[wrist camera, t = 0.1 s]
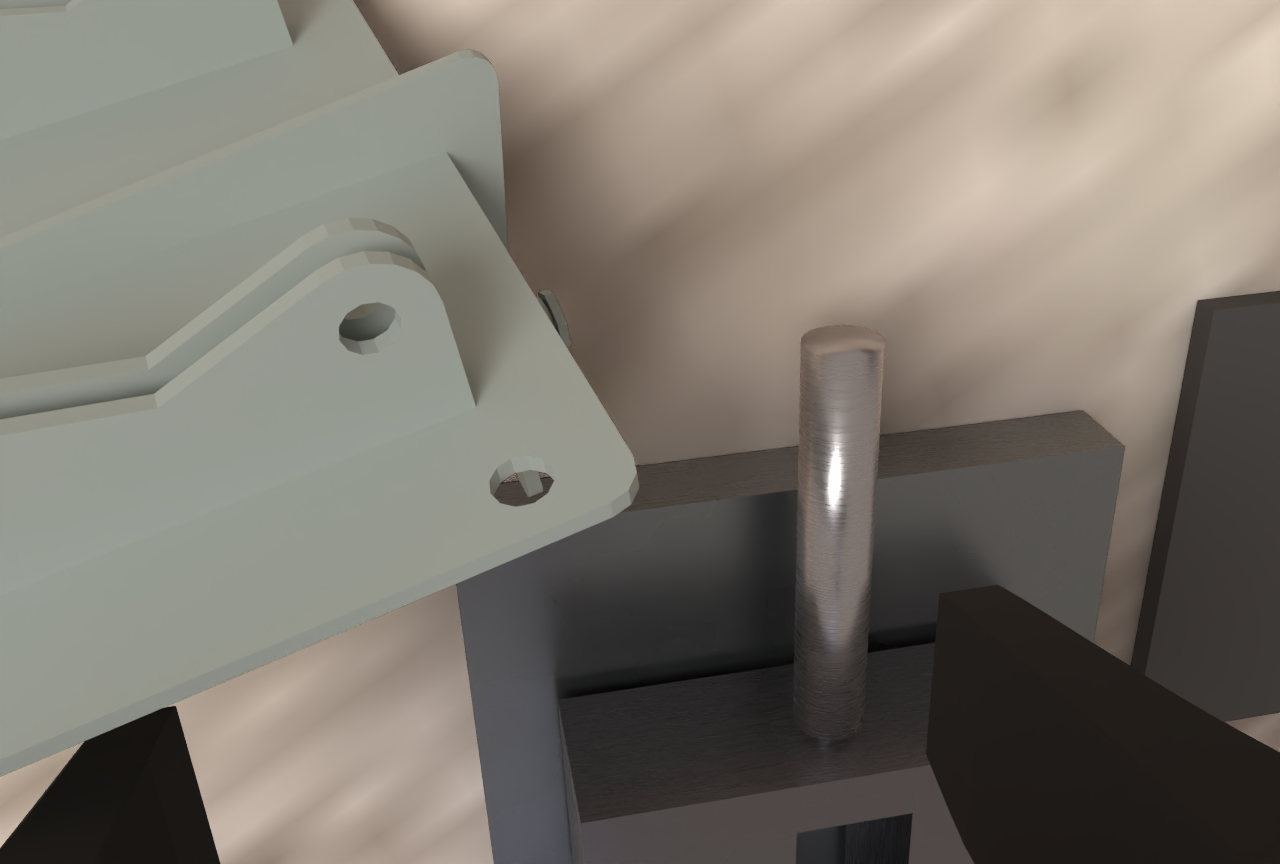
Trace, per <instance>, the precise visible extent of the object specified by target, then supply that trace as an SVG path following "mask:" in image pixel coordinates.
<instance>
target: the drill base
mask: <svg viewBox="0 0 1280 864" xmlns="http://www.w3.org/2000/svg"><path fill="white" fill-rule="evenodd" d="M1124 450H1125V446H1124V445H1123V444H1121V443H1120V442H1119V441H1118V440H1117V439H1116V438H1114V437H1113V436H1112V435H1111V434H1110V433H1109V432H1107V431H1106V430H1105V429H1104V428H1103V427H1102V426H1100V425H1099V424H1098V423H1097V422H1096V421H1095V420H1093V419H1092V418H1091V417H1090V416H1089V415H1088V414H1087V413H1085V412H1084V411H1075V412H1067V413H1059V414H1051V415H1043V416H1035V417H1027V418H1019V419H1011V420H1003V421H995V422H987V423H979V424H971V425H963V426H955V427H947V428H939V429H931V430H923V431H915V432H907V433H899V434H892V435H884V436H879V454H878V471H877V489H876V507H875V525H874V543H873V561H872V579H871V596H870V614H869V632H868V650H867V653H869V652H876V651H883V650H889V649H896V648H902V647H909V646H916V645H922V644H929V643H935V639H936V627H937V616H938V604H939V593H945V592H952V591H959V590H965V589H972V588H979V587H986V586H992V585H999V586H1001V587H1003V588H1005V589H1007V590H1008V591H1010V592H1012V593H1014V594H1015V595H1017V596H1019V597H1020V598H1022V599H1024V600H1025V601H1027V602H1029V603H1030V604H1032V605H1034V606H1035V607H1037V608H1038V609H1040V610H1042V611H1043V612H1045V613H1047V614H1048V615H1050V616H1051V617H1053V618H1054V619H1056V620H1058V621H1059V622H1061V623H1062V624H1064V625H1066V626H1067V627H1069V628H1070V629H1072V630H1073V631H1075V632H1077V633H1078V634H1080V635H1081V636H1083V637H1085V638H1086V639H1088V640H1089V641H1091V642H1092V643H1093V641H1094V635H1095V629H1096V622H1097V616H1098V610H1099V604H1100V598H1101V592H1102V586H1103V579H1104V573H1105V567H1106V561H1107V555H1108V549H1109V542H1110V536H1111V530H1112V524H1113V518H1114V512H1115V506H1116V499H1117V493H1118V487H1119V481H1120V475H1121V469H1122V462H1123V456H1124ZM798 456H799V446H796V447H788V448H780V449H772V450H764V451H756V452H748V453H740V454H732V455H724V456H716V457H708V458H700V459H693V460H685V461H677V462H669V463H661V464H653V465H645V466H637V467H636V471H637V476H638V481H639V489H638V491H637V493H636V496H635V498H634V500H633V502H632V504H631V505H630V506H628V507H627V508H625V509H624V510H622V511H621V512H620V513H618V514H617V515H615V516H614V517H612V518H610V519H607V520H605V521H603V522H600V523H598V524H596V525H593V526H591V527H589V528H586V529H584V530H582V531H579V532H577V533H574V534H572V535H570V536H567V537H565V538H563V539H560V540H558V541H556V542H553V543H551V544H548V545H546V546H544V547H541V548H539V549H537V550H534V551H532V552H530V553H527V554H525V555H523V556H520V557H518V558H515V559H513V560H511V561H508V562H506V563H504V564H501V565H499V566H497V567H494V568H492V569H490V570H487V571H485V572H482V573H480V574H478V575H475V576H473V577H471V578H468V579H466V580H464V581H461V582H459V583H456V586H457V593H458V600H459V608H460V615H461V623H462V630H463V638H464V645H465V652H466V660H467V667H468V675H469V682H470V689H471V697H472V704H473V712H474V719H475V726H476V734H477V741H478V749H479V756H480V763H481V771H482V778H483V786H484V793H485V800H486V808H487V815H488V823H489V830H490V837H491V845H492V852H493V860H494V864H573V857H572V846H571V835H570V825H569V814H568V803H567V793H566V782H565V771H564V760H563V750H562V739H561V728H560V718H559V707H558V700H560V699H566V698H573V697H580V696H586V695H593V694H599V693H606V692H613V691H619V690H626V689H632V688H639V687H645V686H652V685H659V684H665V683H672V682H678V681H685V680H692V679H698V678H705V677H711V676H718V675H725V674H731V673H738V672H744V671H751V670H757V669H764V668H771V667H777V666H784V665H790V664H794V644H795V597H796V550H797V503H798ZM540 480H541V484H542V487H543V492H541V493H538V494H536V495H533V496H531V497H528V496H527V494H526V492H525V490H524V488H523V486H522V484H521V482H520V481H517V482H509V483H501V484H500V485H499V487H498V488H497V490H496V492H495V494H494V498H495V499H497V500H498V501H499V502H500V503H502V504H506V505H510V506H515V507H518V506H523V505H528V504H533V503H535V502H536V501H537V500H539V499H540V498H542V497H543V496H545V495H546V494H547V493H548V492H549V490H550V488H551V486H552V484H553V482H554V480H553V479H552V478H551V477H549V478H541V479H540ZM845 837H846V825H840V826H835V827H829V828H823V829H817V830H811V831H806V832H800V833H797V836H796V864H844V857H845Z"/></svg>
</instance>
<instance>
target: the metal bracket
mask: <svg viewBox="0 0 1280 864" xmlns="http://www.w3.org/2000/svg"><path fill="white" fill-rule="evenodd" d="M538 295H539V297H538V298H536V297H535V295H534V294H533V292H532V290H531V289H530V287H529V285H528V284H527V282H526V281H525V279H524V277H523V276H522V274H521V272H520V271H519V269H518V268H517V266H516V264H515V263H514V261H513V259H512V258H511V256H510V255H509V253H508V238H507V221H506V204H505V187H504V170H503V153H502V136H501V120H500V103H499V86H498V77H497V74H496V71H495V68H494V66H493V65H492V64H491V62H490V61H489V60H488V59H487V58H486V57H485V56H484V55H483V54H482V53H481V52H477V51H474V50H470V49H468V50H463V51H457V52H455V53H452V54H450V55H447V56H445V57H442V58H440V59H438V60H435V61H433V62H430V63H428V64H425V65H423V66H420V67H418V68H415V69H413V70H411V71H408V72H406V73H403V74H401V75H399V74H398V73H397V71H396V70H395V68H394V66H393V65H392V63H391V61H390V60H389V58H388V57H387V55H386V53H385V52H384V50H383V48H382V47H381V45H380V44H379V42H378V40H377V39H376V37H375V35H374V34H373V32H372V31H371V29H370V27H369V26H368V24H367V22H366V21H365V19H364V18H363V16H362V14H361V13H360V11H359V9H358V8H357V6H356V5H355V3H354V1H353V0H0V777H1V776H4V775H6V774H8V773H11V772H13V771H15V770H18V769H20V768H22V767H25V766H27V765H30V764H32V763H34V762H37V761H39V760H41V759H44V758H46V757H48V756H51V755H53V754H55V753H58V752H60V751H63V750H65V749H67V748H70V747H72V746H74V745H77V744H79V743H81V742H84V741H86V740H88V739H91V738H93V737H96V736H98V735H100V734H103V733H105V732H107V731H110V730H112V729H114V728H117V727H119V726H122V725H124V724H126V723H129V722H131V721H133V720H136V719H138V718H140V717H143V716H145V715H147V714H150V713H152V712H155V711H157V710H159V709H162V708H164V707H166V706H169V705H171V704H173V703H176V702H178V701H180V700H183V699H185V698H188V697H190V696H192V695H195V694H197V693H199V692H202V691H204V690H206V689H209V688H211V687H214V686H216V685H218V684H221V683H223V682H225V681H228V680H230V679H232V678H235V677H237V676H239V675H242V674H244V673H247V672H249V671H251V670H254V669H256V668H258V667H261V666H263V665H265V664H268V663H270V662H272V661H275V660H277V659H280V658H282V657H284V656H287V655H289V654H291V653H294V652H296V651H298V650H301V649H303V648H306V647H308V646H310V645H313V644H315V643H317V642H320V641H322V640H324V639H327V638H329V637H331V636H334V635H336V634H339V633H341V632H343V631H346V630H348V629H350V628H353V627H355V626H357V625H360V624H362V623H364V622H367V621H369V620H372V619H374V618H376V617H379V616H381V615H383V614H386V613H388V612H390V611H393V610H395V609H398V608H400V607H402V606H405V605H407V604H409V603H412V602H414V601H416V600H419V599H421V598H423V597H426V596H428V595H431V594H433V593H435V592H438V591H440V590H442V589H445V588H447V587H449V586H452V585H454V584H456V583H459V582H461V581H464V580H466V579H468V578H471V577H473V576H475V575H478V574H480V573H482V572H485V571H487V570H490V569H492V568H494V567H497V566H499V565H501V564H504V563H506V562H508V561H511V560H513V559H515V558H518V557H520V556H523V555H525V554H527V553H530V552H532V551H534V550H537V549H539V548H541V547H544V546H546V545H548V544H551V543H553V542H556V541H558V540H560V539H563V538H565V537H567V536H570V535H572V534H574V533H577V532H579V531H582V530H584V529H586V528H589V527H591V526H593V525H596V524H598V523H600V522H603V521H605V520H607V519H610V518H612V517H614V516H615V515H617V514H618V513H620V512H621V511H622V510H624V509H625V508H627V507H628V506H630V505H631V504H632V502H633V500H634V498H635V496H636V493H637V491H638V489H639V481H638V476H637V471H636V466H635V461H634V456H633V454H632V453H631V451H630V449H629V448H628V446H627V445H626V443H625V441H624V440H623V438H622V436H621V435H620V433H619V432H618V430H617V428H616V427H615V425H614V423H613V422H612V420H611V419H610V417H609V415H608V414H607V412H606V410H605V409H604V407H603V406H602V404H601V402H600V401H599V399H598V397H597V396H596V394H595V393H594V391H593V389H592V388H591V386H590V385H589V383H588V381H587V380H586V378H585V376H584V375H583V373H582V372H581V370H580V368H579V367H578V365H577V363H576V362H575V360H574V359H573V357H572V355H571V354H570V352H569V350H568V349H567V347H569V346H572V344H571V339H570V335H569V330H568V326H567V321H566V319H565V317H564V315H563V312H562V310H561V308H560V306H559V304H558V301H557V299H556V297H555V295H554V293H553V292H552V291H550V290H547V289H544V290H542V291H539V292H538ZM538 471H539V472H543V473H547V474H548V475H549V476H550V477H551V478H552V479H553V480H554V482H553V484H552V486H551V488H550V490H549V492H548V493H547V494H546V495H545V496H543V497H542V498H540V499H539V500H537V501H536V502H535V503H533V504H528V505H523V506H518V507H515V506H510V505H506V504H502V503H500V502H499V501H498V500H497V499H495V498H494V494H495V492H496V490H497V488H498V487H499V485H500V483H501V482H502V481H504V480H505V479H507V478H508V477H510V476H511V475H513V474H514V473H516V475H517V477H518V479H519V481H520V482H521V484H522V486H523V488H524V490H525V492H526V494H527V496H528V497H531V496H533V495H536V494H538V493H541V492H543V487H542V484H541V480H540V476H539V473H538Z"/></svg>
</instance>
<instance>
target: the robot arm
mask: <svg viewBox="0 0 1280 864" xmlns="http://www.w3.org/2000/svg"><path fill="white" fill-rule="evenodd" d="M926 755H927V758H928V760H929V763H930V765H931V768H932V770H933V773H934V775H935V778H936V780H937V783H938V785H939V788H940V790H941V793H942V795H943V798H944V800H945V802H946V805H947V807H948V809H949V812H950V814H951V816H952V819H953V821H954V823H955V826H956V828H957V830H958V832H959V835H960V837H961V839H962V842H963V844H964V846H965V848H966V850H967V851H968V853H969V855H970V857H971V859H972V860H973V862H974V864H1280V752H1278V751H1276V750H1274V749H1272V748H1270V747H1268V746H1267V745H1265V744H1263V743H1261V742H1259V741H1257V740H1256V739H1254V738H1252V737H1250V736H1248V735H1246V734H1245V733H1243V732H1241V731H1239V730H1237V729H1235V728H1233V727H1232V726H1230V725H1228V724H1226V723H1225V722H1223V721H1221V720H1219V719H1218V718H1216V717H1214V716H1212V715H1211V714H1209V713H1207V712H1206V711H1204V710H1202V709H1200V708H1199V707H1197V706H1195V705H1193V704H1192V703H1190V702H1188V701H1187V700H1185V699H1183V698H1182V697H1180V696H1178V695H1177V694H1175V693H1173V692H1172V691H1170V690H1168V689H1167V688H1165V687H1163V686H1162V685H1160V684H1158V683H1157V682H1155V681H1153V680H1152V679H1150V678H1149V677H1147V676H1145V675H1144V674H1142V673H1140V672H1139V671H1137V670H1136V669H1134V668H1132V667H1131V666H1129V665H1127V664H1126V663H1124V662H1123V661H1121V660H1119V659H1118V658H1116V657H1115V656H1113V655H1111V654H1110V653H1108V652H1107V651H1105V650H1104V649H1102V648H1100V647H1099V646H1097V645H1096V644H1094V643H1092V642H1091V641H1089V640H1088V639H1086V638H1085V637H1083V636H1081V635H1080V634H1078V633H1077V632H1075V631H1073V630H1072V629H1070V628H1069V627H1067V626H1066V625H1064V624H1062V623H1061V622H1059V621H1058V620H1056V619H1054V618H1053V617H1051V616H1050V615H1048V614H1047V613H1045V612H1043V611H1042V610H1040V609H1038V608H1037V607H1035V606H1034V605H1032V604H1030V603H1029V602H1027V601H1025V600H1024V599H1022V598H1020V597H1019V596H1017V595H1015V594H1014V593H1012V592H1010V591H1008V590H1007V589H1005V588H1003V587H1001V586H999V585H992V586H986V587H979V588H972V589H965V590H959V591H952V592H945V593H939V604H938V616H937V627H936V639H935V651H934V663H933V675H932V686H931V698H930V710H929V722H928V734H927V745H926ZM0 864H220V861H219V858H218V854H217V850H216V847H215V843H214V840H213V836H212V833H211V829H210V826H209V822H208V819H207V815H206V811H205V808H204V804H203V801H202V797H201V794H200V790H199V787H198V783H197V779H196V776H195V772H194V769H193V765H192V762H191V758H190V755H189V751H188V748H187V744H186V740H185V737H184V733H183V730H182V726H181V723H180V719H179V716H178V712H177V709H176V706H172V707H166V708H162V709H159V710H157V711H155V712H152V713H150V714H147V715H145V716H143V717H140V718H138V719H136V720H133V721H131V722H129V723H126V724H124V725H122V726H119V727H117V728H114V729H112V730H110V731H107V732H105V733H103V734H100V735H98V736H96V737H93V738H91V739H88V740H86V741H85V742H84V743H83V744H82V745H81V746H80V748H79V749H78V750H77V752H76V753H75V754H74V755H73V757H72V758H71V759H70V760H69V762H68V763H67V764H66V766H65V767H64V768H63V769H62V771H61V772H60V773H59V775H58V776H57V777H56V778H55V780H54V781H53V782H52V783H51V785H50V786H49V787H48V789H47V790H46V791H45V792H44V794H43V795H42V796H41V798H40V799H39V800H38V801H37V803H36V804H35V805H34V806H33V808H32V809H31V810H30V811H29V813H28V814H27V815H26V817H25V818H24V819H23V820H22V822H21V823H20V824H19V825H18V827H17V828H16V829H15V830H14V832H13V833H12V834H11V835H10V837H9V838H8V839H7V840H6V842H5V843H4V844H3V845H2V846H1V848H0Z"/></svg>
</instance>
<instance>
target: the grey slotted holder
mask: <svg viewBox="0 0 1280 864" xmlns="http://www.w3.org/2000/svg"><path fill="white" fill-rule="evenodd" d="M884 346H885V341H884V339H883V337H882V336H881V335H879V334H878V333H876V332H874V331H872V330H869V329H866V328H862V327H856V326H847V325H835V326H825V327H820V328H816V329H813V330H811V331H809V332H807V333H806V334H804V335H803V337H802V338H801V362H800V409H799V456H798V503H797V550H796V597H795V644H794V664H790V665H784V666H777V667H771V668H764V669H757V670H751V671H744V672H738V673H731V674H725V675H718V676H711V677H705V678H698V679H692V680H685V681H678V682H672V683H665V684H659V685H652V686H645V687H639V688H632V689H626V690H619V691H613V692H606V693H599V694H593V695H586V696H580V697H573V698H566V699H560V700H558V707H559V718H560V728H561V739H562V750H563V760H564V771H565V782H566V793H567V803H568V814H569V825H570V835H571V846H572V857H573V864H796V836H797V833H800V832H806V831H811V830H817V829H823V828H829V827H835V826H840V825H846V837H845V857H844V864H974V862H973V860H972V859H971V857H970V855H969V853H968V851H967V850H966V848H965V846H964V844H963V842H962V839H961V837H960V835H959V832H958V830H957V828H956V826H955V823H954V821H953V819H952V816H951V814H950V812H949V809H948V807H947V805H946V802H945V800H944V798H943V795H942V793H941V790H940V788H939V785H938V783H937V780H936V778H935V775H934V773H933V770H932V768H931V765H930V763H929V760H928V758H927V755H926V745H927V734H928V722H929V710H930V698H931V686H932V675H933V663H934V651H935V643H929V644H922V645H916V646H909V647H902V648H896V649H889V650H883V651H876V652H869V653H867V650H868V632H869V614H870V596H871V579H872V561H873V543H874V525H875V507H876V489H877V471H878V454H879V436H880V418H881V400H882V382H883V364H884Z"/></svg>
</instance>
